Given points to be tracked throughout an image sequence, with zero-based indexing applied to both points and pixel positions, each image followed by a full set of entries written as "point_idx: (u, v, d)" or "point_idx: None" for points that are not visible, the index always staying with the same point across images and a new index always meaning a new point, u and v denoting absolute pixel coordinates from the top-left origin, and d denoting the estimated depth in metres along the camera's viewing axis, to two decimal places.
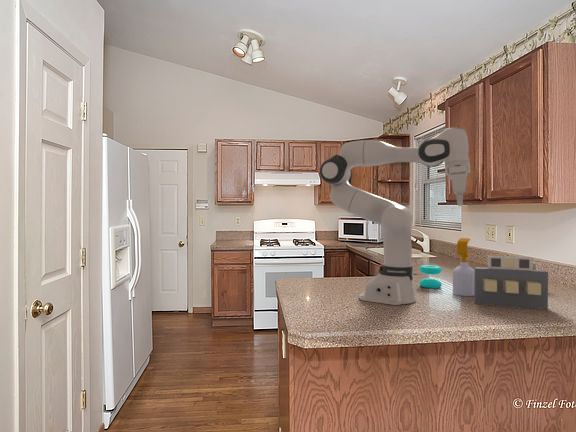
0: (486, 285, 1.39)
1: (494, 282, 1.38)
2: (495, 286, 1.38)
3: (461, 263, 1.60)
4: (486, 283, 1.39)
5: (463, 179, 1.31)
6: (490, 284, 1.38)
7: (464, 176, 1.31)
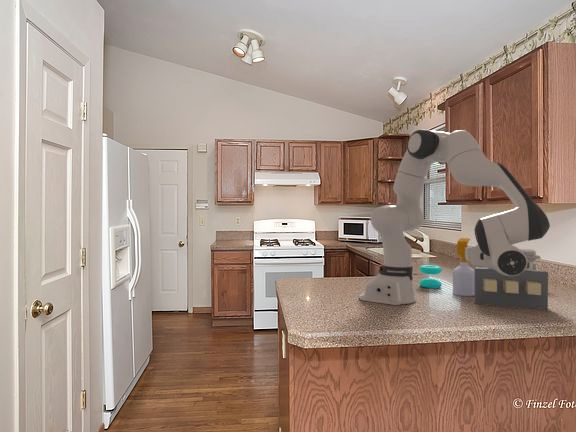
0: (486, 285, 1.39)
1: (494, 282, 1.38)
2: (495, 286, 1.38)
3: (461, 263, 1.60)
4: (486, 283, 1.39)
5: (467, 258, 1.22)
6: (490, 284, 1.38)
7: (468, 260, 1.20)
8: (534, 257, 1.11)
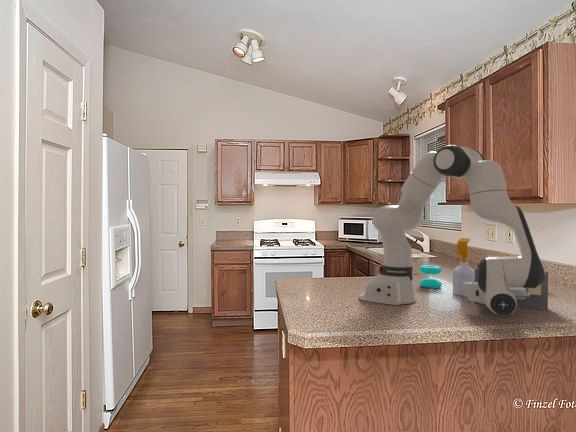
0: None
1: None
2: None
3: (461, 263, 1.60)
4: None
5: (464, 293, 1.34)
6: None
7: (465, 294, 1.33)
8: (524, 295, 1.23)
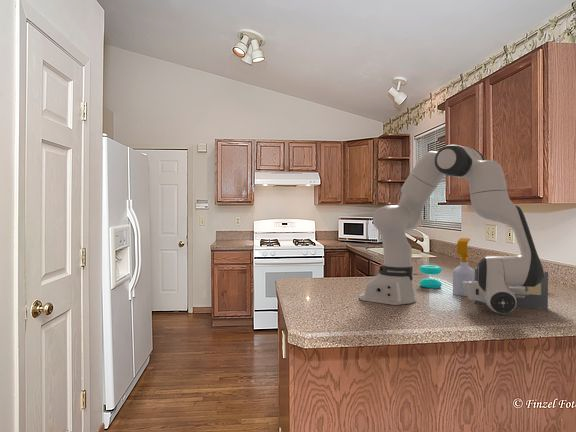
0: None
1: None
2: None
3: (461, 263, 1.60)
4: None
5: (464, 292, 1.35)
6: None
7: (465, 293, 1.34)
8: (523, 294, 1.24)
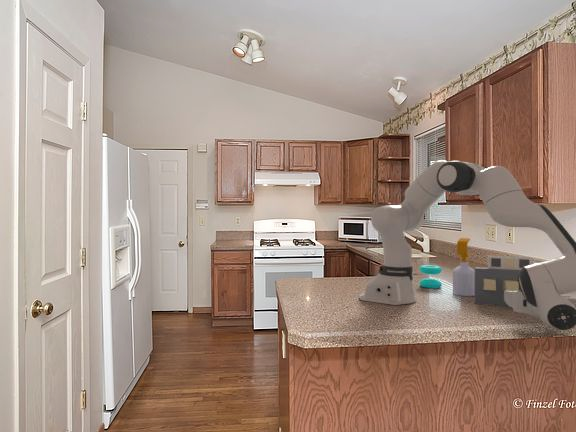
0: (485, 284, 1.41)
1: (493, 281, 1.40)
2: (494, 285, 1.40)
3: (461, 263, 1.60)
4: (485, 282, 1.41)
5: (507, 302, 1.17)
6: (489, 282, 1.41)
7: (508, 304, 1.16)
8: None
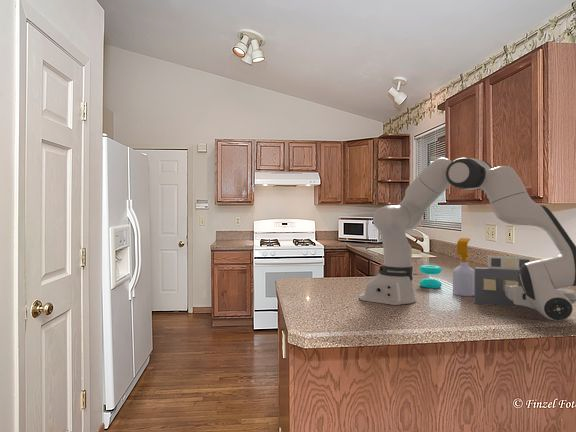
0: (485, 284, 1.41)
1: (493, 281, 1.40)
2: (494, 285, 1.40)
3: (461, 263, 1.60)
4: (485, 282, 1.41)
5: (508, 296, 1.28)
6: (489, 282, 1.41)
7: (509, 298, 1.27)
8: (575, 299, 1.17)
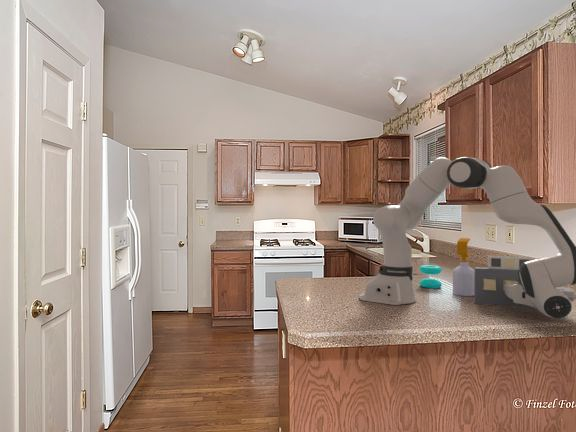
0: (485, 284, 1.41)
1: (493, 281, 1.40)
2: (494, 285, 1.40)
3: (461, 263, 1.60)
4: (485, 282, 1.41)
5: (507, 295, 1.30)
6: (489, 282, 1.41)
7: (509, 297, 1.29)
8: (574, 297, 1.19)
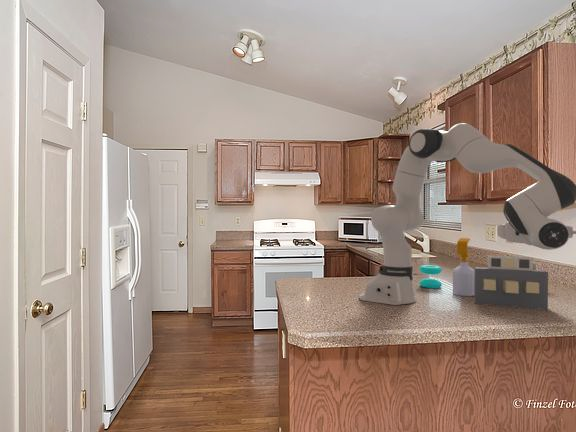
0: (485, 284, 1.41)
1: (493, 281, 1.40)
2: (494, 285, 1.40)
3: (461, 263, 1.60)
4: (485, 282, 1.41)
5: (500, 235, 1.19)
6: (489, 282, 1.41)
7: (502, 237, 1.18)
8: (572, 232, 1.09)
